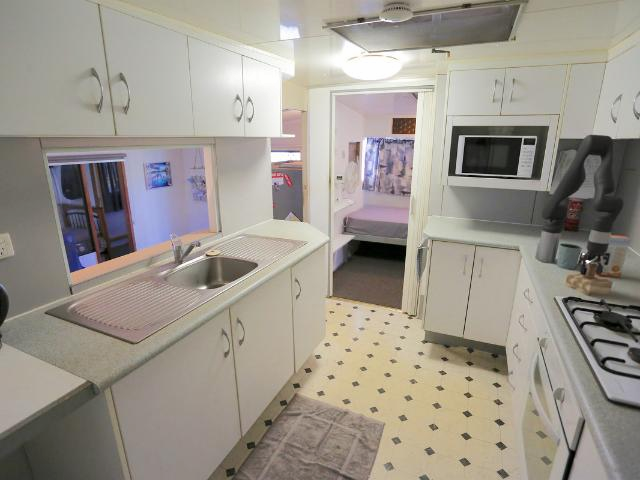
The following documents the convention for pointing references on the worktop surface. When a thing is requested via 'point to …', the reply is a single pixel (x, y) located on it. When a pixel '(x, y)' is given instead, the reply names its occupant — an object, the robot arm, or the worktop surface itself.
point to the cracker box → (615, 256)
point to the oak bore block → (588, 284)
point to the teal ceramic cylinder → (568, 256)
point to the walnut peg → (591, 271)
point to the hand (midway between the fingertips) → (590, 274)
